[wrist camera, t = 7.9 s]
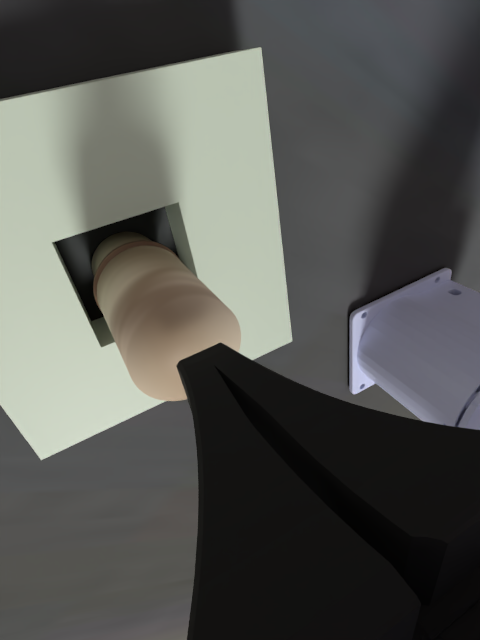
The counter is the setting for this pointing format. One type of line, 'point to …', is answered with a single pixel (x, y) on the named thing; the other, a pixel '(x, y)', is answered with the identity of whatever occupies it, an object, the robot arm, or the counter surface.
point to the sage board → (121, 203)
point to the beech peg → (157, 311)
